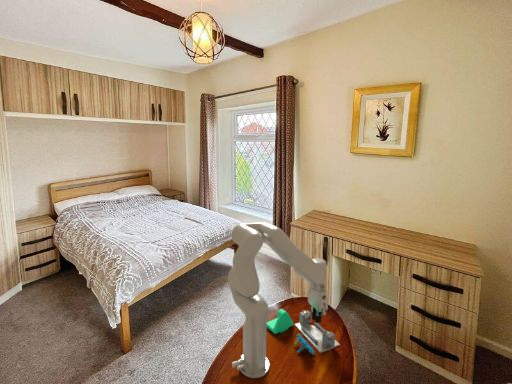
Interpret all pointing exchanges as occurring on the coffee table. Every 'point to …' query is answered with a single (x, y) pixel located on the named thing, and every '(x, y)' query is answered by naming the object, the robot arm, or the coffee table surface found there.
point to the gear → (303, 344)
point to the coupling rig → (316, 333)
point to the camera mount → (280, 322)
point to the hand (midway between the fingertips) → (316, 320)
